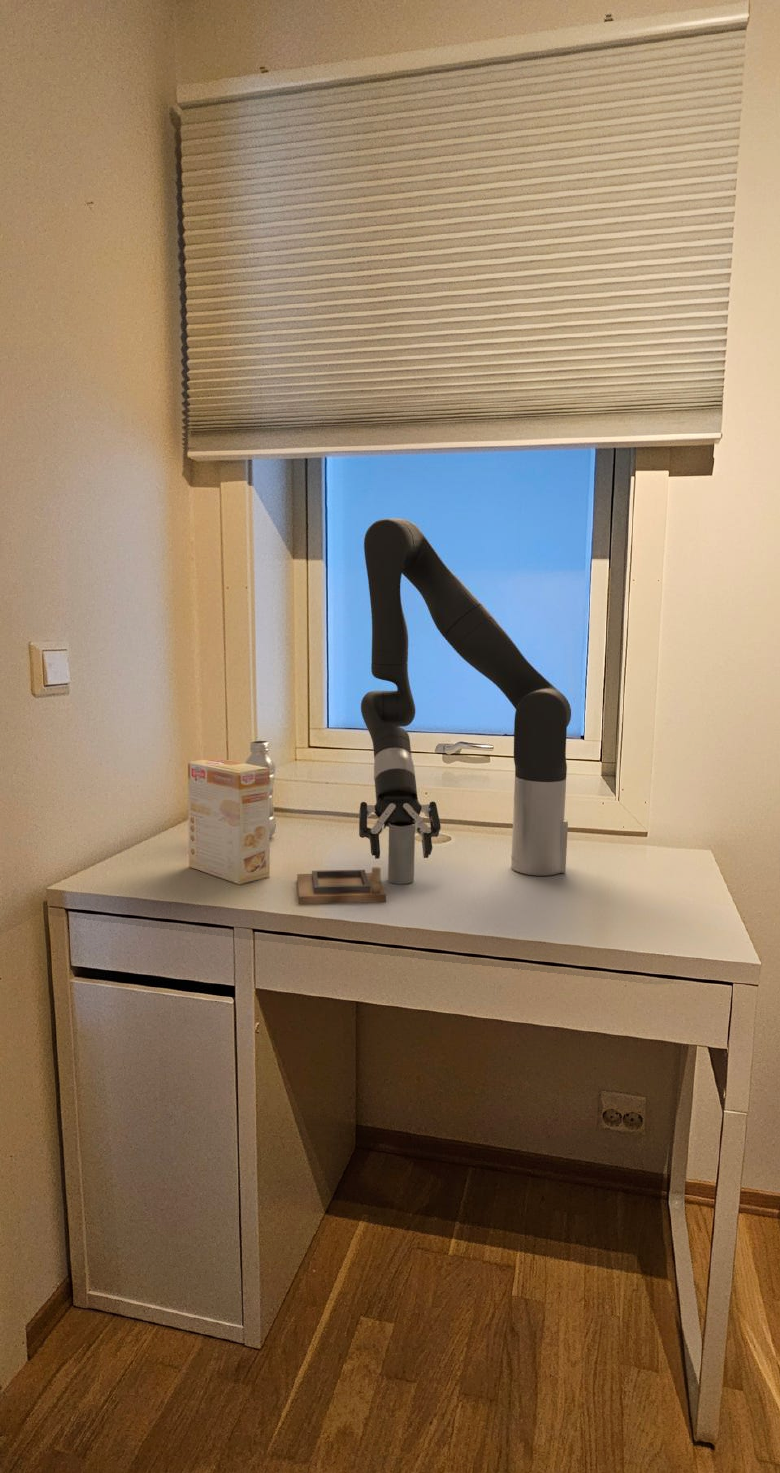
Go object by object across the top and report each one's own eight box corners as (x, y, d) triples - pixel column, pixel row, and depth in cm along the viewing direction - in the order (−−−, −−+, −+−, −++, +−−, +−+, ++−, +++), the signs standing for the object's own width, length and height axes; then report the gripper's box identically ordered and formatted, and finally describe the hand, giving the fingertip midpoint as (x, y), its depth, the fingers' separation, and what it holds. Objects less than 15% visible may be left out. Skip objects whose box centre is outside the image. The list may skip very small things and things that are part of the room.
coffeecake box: (271, 877, 149) (271, 767, 146) (238, 885, 144) (238, 772, 141) (219, 859, 159) (218, 756, 156) (187, 867, 153) (186, 761, 151)
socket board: (377, 879, 149) (378, 850, 148) (386, 901, 137) (386, 870, 136) (297, 880, 147) (297, 851, 146) (298, 903, 135) (299, 872, 134)
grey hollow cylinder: (411, 885, 146) (412, 826, 144) (385, 883, 146) (386, 825, 145) (415, 877, 150) (417, 820, 149) (390, 875, 151) (391, 819, 149)
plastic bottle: (282, 837, 176) (282, 741, 173) (261, 844, 170) (260, 745, 167) (258, 832, 179) (258, 738, 176) (236, 839, 173) (236, 742, 170)
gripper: (357, 766, 152) (363, 846, 142) (436, 766, 154) (446, 845, 144) (354, 789, 158) (359, 867, 148) (430, 789, 160) (439, 866, 150)
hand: (402, 856), depth 146 cm, fingers open, 8 cm apart
